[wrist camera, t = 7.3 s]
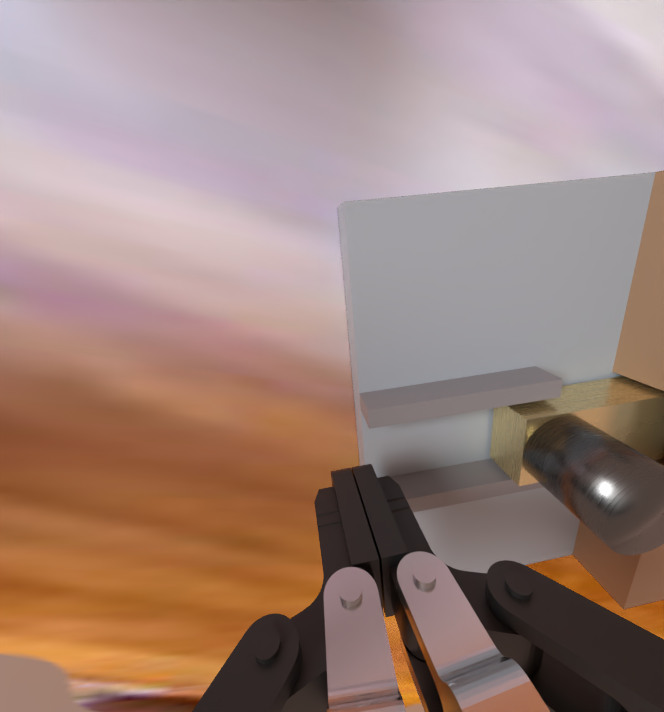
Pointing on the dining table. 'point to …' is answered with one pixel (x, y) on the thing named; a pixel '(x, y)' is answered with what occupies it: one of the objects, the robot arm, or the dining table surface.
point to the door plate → (500, 350)
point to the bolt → (593, 456)
